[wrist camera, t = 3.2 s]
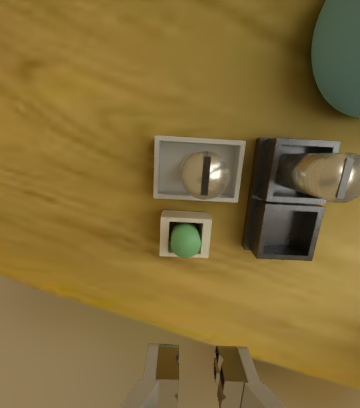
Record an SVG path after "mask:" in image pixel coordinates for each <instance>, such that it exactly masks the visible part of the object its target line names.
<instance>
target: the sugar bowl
mask: <svg viewBox="0 0 360 408" xmlns="http://www.w3.org/2000/svg"><path fill="white" fill-rule="evenodd" d="M311 62H312V70H313V75H314V78H315V82H316V84H317V86H318V89H319V90H320V92H321V94H322V96H323V97H324V98H325V99H326V101H327V102H328V103H329V104H330V105H331V106H332V107H333V108H335V109H336V110H338V111H339V112H341V113H343V114H346V115H348V116H352V117H355V118H359V119H360V0H326V1H325V3H324V5H323V7H322V10H321V12H320V14H319V16H318V19H317V22H316V25H315V29H314V34H313V38H312V48H311Z"/></svg>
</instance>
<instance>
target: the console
mask: <svg viewBox="0 0 360 408" xmlns="http://www.w3.org/2000/svg"><path fill="white" fill-rule="evenodd" d="M170 222H189V223H200V226H199V237H200V240H201V247H200V250H199V251H198V253H197V254H195V255H194V256H192V257H193V258H208V256H209V246H210V236H211V226H212V218H211V216H210V215H209V213H208V212H193V211H174V210H162V214H161V224H160V253H159V256H170V257H179V256H177V255H176V254H175V253H174V252H173V251H172V249H171V244H170V243H171V242H169V227H170Z"/></svg>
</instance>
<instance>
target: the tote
mask: <svg viewBox="0 0 360 408" xmlns="http://www.w3.org/2000/svg"><path fill="white" fill-rule="evenodd" d="M245 144H246V141H240V140H224V139H207V138H190V137H174V136H157V135H155V148H154V190H153V198H158V199H178V200H197V201H216V202H235V203H238V197H239V190H240V182H241V174H242V167H243V159H244V152H245ZM204 151H208V152H214V153H216V154H218V155H220V156H221V157H222V158H223V159H224V160H225V161H226V163H227V165H228V167H229V172H230V178H229V182H228V185H227V187H226V188H225V190H224V191H223V192H222V193H221V194H220V195H219V196H217V197H215V198H213V199H208V200H202V199H197V198H195V197H193V196H191V195H190V194H189V193H188V192H187V191H186V189H185V188H184V186H183V183H182V178H181V172H180V167H181V163H182V161H183V159H184V158H185V157H186V156H187V155H189V154H191V153H196V152H204Z"/></svg>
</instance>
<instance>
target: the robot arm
mask: <svg viewBox="0 0 360 408" xmlns="http://www.w3.org/2000/svg"><path fill="white" fill-rule="evenodd" d="M215 353H216V358H215V359H214V378H215V383H216V385H217V386H218V392H217V396H218V402H219V408H286V407H285V406H284V405H283V404H282V403H281V401H279V399H278V398H277V397H276V396H275V395H274V394H273V393H272V392H271V391H270V390H269V389H268V387H267V386H266V385H265V384H264V383H260V380H259V378H258V375H257V372H256V370H255V367H254V364H253V361H252V359H251V356H250V353H249V350H248V348H247V347H238V346H216V349H215ZM178 361H179V345H171V344H153V343H149V345H148V350H147V356H146V362H145V369H144V375H143V380H139V381H138V382H137V384H136V385H135V387H134V388H133V389H132V390H131V392H130V393H129V394H128V396H127V397H126V399H125V400H124V401H123V403H122V404H121V405H120V407H119V408H177V402H178V389H179V362H178Z"/></svg>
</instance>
